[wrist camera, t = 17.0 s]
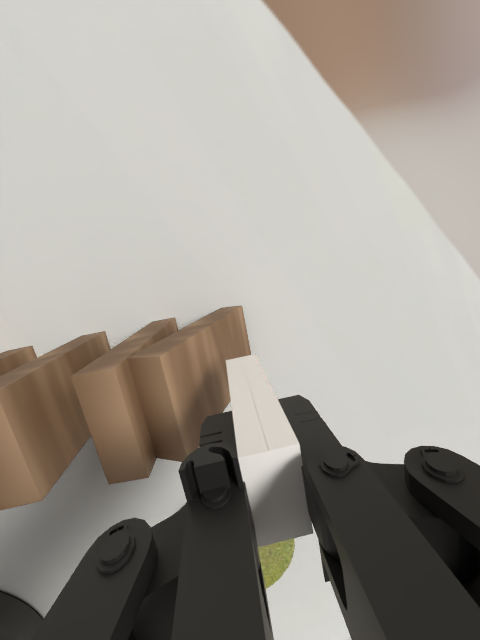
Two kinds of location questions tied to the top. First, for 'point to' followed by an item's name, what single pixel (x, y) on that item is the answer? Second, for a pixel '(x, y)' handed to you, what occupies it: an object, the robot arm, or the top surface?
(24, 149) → the top surface
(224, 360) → the domino
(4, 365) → the domino
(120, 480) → the domino
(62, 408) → the domino
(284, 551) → the green round flat disc
